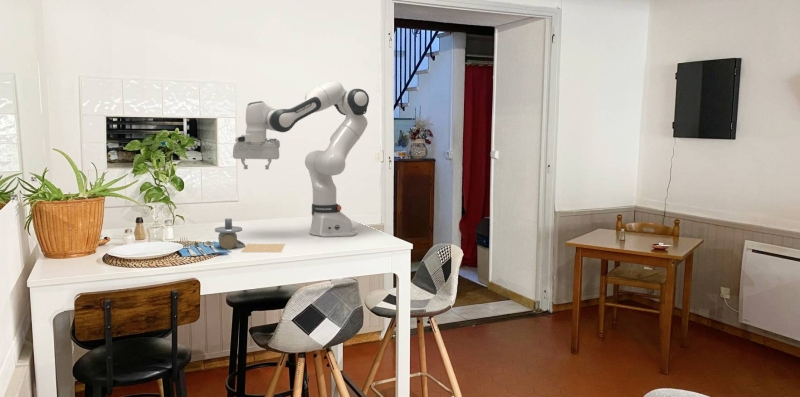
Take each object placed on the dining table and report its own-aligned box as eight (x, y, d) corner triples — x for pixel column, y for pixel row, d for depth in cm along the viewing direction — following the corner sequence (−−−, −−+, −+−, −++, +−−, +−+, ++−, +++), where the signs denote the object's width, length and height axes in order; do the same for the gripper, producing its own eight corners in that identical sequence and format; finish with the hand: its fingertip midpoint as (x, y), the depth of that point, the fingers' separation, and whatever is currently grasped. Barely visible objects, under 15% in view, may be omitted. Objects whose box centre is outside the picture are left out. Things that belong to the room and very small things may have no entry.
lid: (244, 228, 261) (244, 216, 260) (239, 233, 250) (239, 221, 249) (217, 228, 260) (217, 216, 259) (212, 232, 249) (211, 221, 248)
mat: (285, 245, 264) (285, 243, 264) (281, 253, 248) (281, 252, 248) (247, 245, 262) (247, 243, 262) (240, 253, 246) (240, 252, 246)
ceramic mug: (219, 251, 250) (219, 232, 249) (218, 246, 258) (218, 228, 257) (245, 250, 254) (245, 231, 253) (244, 246, 261) (244, 228, 260)
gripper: (280, 138, 277) (280, 168, 279) (234, 137, 275) (234, 168, 277) (279, 138, 271) (279, 170, 273) (231, 138, 269) (232, 169, 271)
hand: (256, 169), depth 275 cm, fingers open, 8 cm apart
